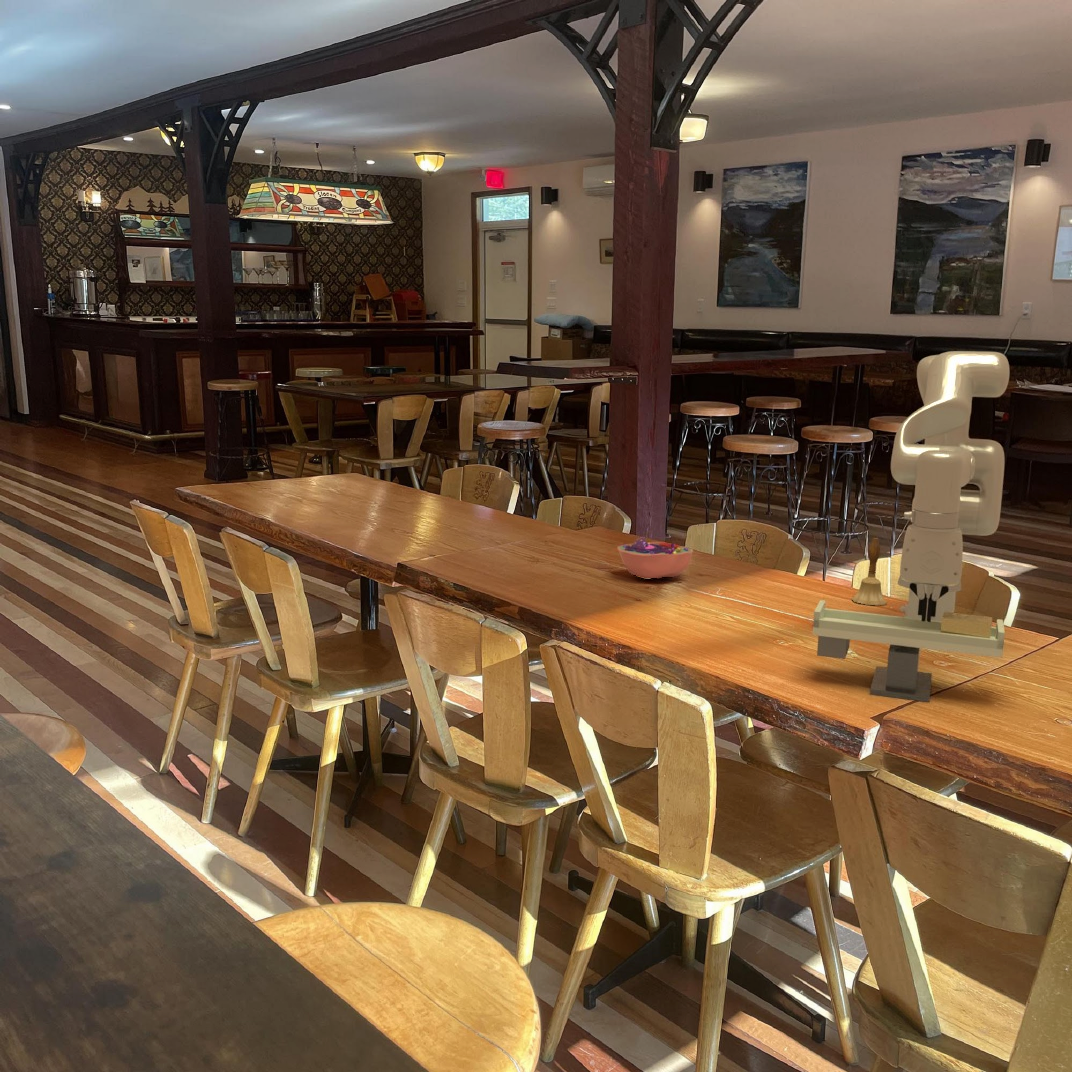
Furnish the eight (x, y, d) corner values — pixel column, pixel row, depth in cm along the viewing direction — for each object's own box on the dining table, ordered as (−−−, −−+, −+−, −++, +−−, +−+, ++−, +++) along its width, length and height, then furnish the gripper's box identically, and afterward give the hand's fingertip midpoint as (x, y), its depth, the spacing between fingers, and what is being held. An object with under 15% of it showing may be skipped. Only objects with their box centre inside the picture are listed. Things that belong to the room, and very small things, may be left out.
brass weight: (939, 639, 179) (942, 618, 178) (942, 632, 183) (944, 611, 182) (988, 646, 175) (991, 624, 175) (990, 638, 180) (992, 617, 179)
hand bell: (879, 597, 250) (884, 534, 247) (892, 606, 242) (897, 541, 239) (846, 597, 250) (851, 534, 247) (858, 606, 242) (863, 541, 239)
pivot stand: (870, 694, 181) (873, 651, 180) (875, 671, 194) (879, 631, 192) (929, 702, 177) (933, 658, 176) (931, 678, 190) (935, 637, 189)
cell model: (696, 587, 259) (698, 544, 257) (618, 585, 259) (619, 542, 257) (687, 572, 275) (689, 531, 273) (614, 570, 276) (616, 530, 273)
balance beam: (811, 655, 187) (814, 611, 185) (817, 642, 195) (820, 600, 193) (999, 679, 175) (1004, 632, 173) (997, 664, 183) (1002, 619, 181)
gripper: (889, 520, 178) (881, 620, 181) (981, 527, 172) (971, 630, 176) (891, 513, 185) (883, 610, 188) (980, 520, 179) (970, 619, 183)
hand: (926, 619), depth 182 cm, fingers closed
